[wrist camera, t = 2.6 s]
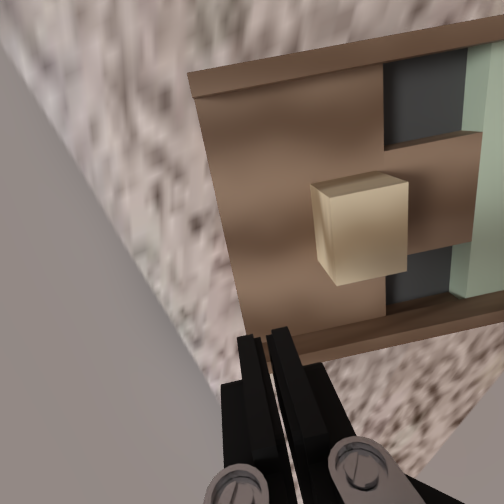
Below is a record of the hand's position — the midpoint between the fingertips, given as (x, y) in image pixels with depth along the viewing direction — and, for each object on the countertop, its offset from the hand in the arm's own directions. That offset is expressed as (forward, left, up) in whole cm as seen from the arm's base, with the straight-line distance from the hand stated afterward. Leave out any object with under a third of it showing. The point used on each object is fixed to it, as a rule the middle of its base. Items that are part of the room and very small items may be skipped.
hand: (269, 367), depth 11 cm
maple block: (-1, +7, -11) cm, 12 cm away
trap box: (-1, +10, -13) cm, 16 cm away
